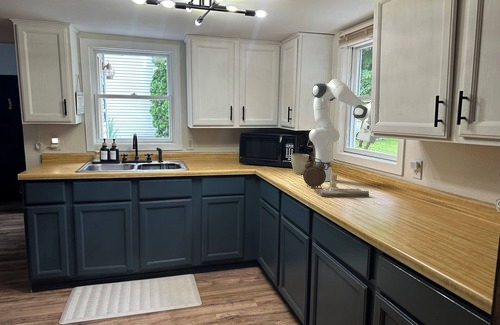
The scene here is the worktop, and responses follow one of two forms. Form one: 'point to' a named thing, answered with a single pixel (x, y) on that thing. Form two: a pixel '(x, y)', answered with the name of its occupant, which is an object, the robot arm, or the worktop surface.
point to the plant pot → (299, 162)
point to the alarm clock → (314, 174)
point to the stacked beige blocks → (333, 183)
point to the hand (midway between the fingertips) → (362, 148)
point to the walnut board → (342, 193)
